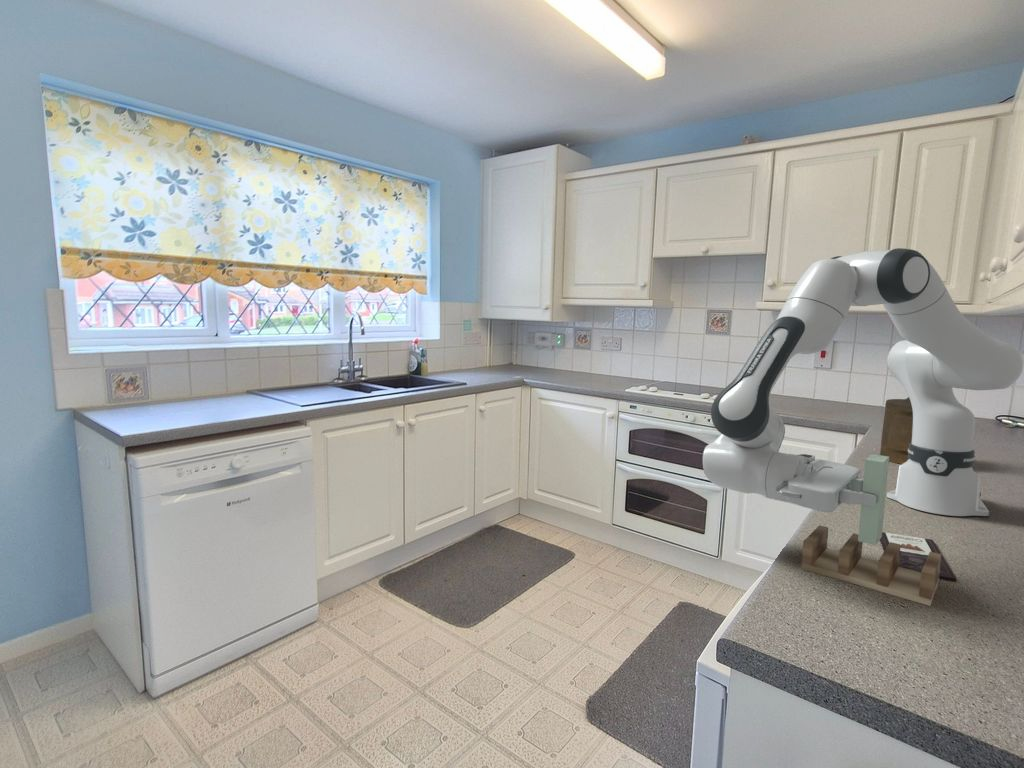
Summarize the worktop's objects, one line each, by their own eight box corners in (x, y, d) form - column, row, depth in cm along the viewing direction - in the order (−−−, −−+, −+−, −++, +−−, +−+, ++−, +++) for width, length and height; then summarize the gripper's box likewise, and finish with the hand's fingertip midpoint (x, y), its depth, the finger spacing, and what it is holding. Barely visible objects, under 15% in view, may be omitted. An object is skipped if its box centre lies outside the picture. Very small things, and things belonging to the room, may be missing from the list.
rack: (817, 550, 102) (819, 525, 101) (938, 582, 89) (941, 554, 89) (801, 568, 95) (803, 541, 94) (930, 606, 82) (933, 574, 82)
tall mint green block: (864, 532, 94) (871, 454, 92) (881, 536, 92) (889, 456, 90) (857, 541, 90) (865, 459, 89) (875, 545, 89) (883, 462, 87)
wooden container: (951, 468, 158) (958, 393, 155) (895, 465, 160) (902, 392, 158) (921, 455, 173) (927, 387, 170) (870, 453, 175) (876, 386, 172)
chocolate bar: (890, 567, 94) (877, 531, 110) (890, 572, 94) (877, 535, 110) (956, 578, 90) (932, 539, 106) (955, 584, 90) (932, 544, 106)
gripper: (772, 473, 91) (868, 491, 82) (808, 452, 106) (893, 465, 97) (770, 509, 92) (865, 531, 83) (805, 483, 107) (890, 499, 97)
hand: (880, 495), depth 90 cm, fingers closed on tall mint green block, 5 cm apart
